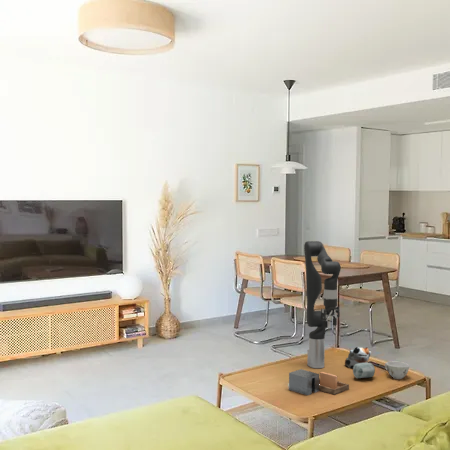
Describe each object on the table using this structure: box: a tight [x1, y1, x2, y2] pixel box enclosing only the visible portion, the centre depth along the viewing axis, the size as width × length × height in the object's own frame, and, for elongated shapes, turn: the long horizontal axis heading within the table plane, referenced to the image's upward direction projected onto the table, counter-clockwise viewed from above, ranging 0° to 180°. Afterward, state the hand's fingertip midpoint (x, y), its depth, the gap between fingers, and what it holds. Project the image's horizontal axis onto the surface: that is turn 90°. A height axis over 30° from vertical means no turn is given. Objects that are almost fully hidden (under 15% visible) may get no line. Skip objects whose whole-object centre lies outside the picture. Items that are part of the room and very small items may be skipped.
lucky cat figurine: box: [344, 346, 372, 369], centre depth 327 cm, size 15×12×14 cm
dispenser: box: [288, 368, 320, 396], centre depth 285 cm, size 12×10×9 cm
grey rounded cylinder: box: [352, 362, 376, 379], centre depth 306 cm, size 14×10×10 cm
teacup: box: [384, 360, 410, 380], centre depth 309 cm, size 15×12×8 cm
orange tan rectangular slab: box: [319, 371, 338, 389], centre depth 289 cm, size 10×2×7 cm, turn 44°
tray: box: [318, 378, 350, 396], centre depth 289 cm, size 16×13×3 cm
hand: (330, 326), depth 302 cm, fingers open, 8 cm apart
